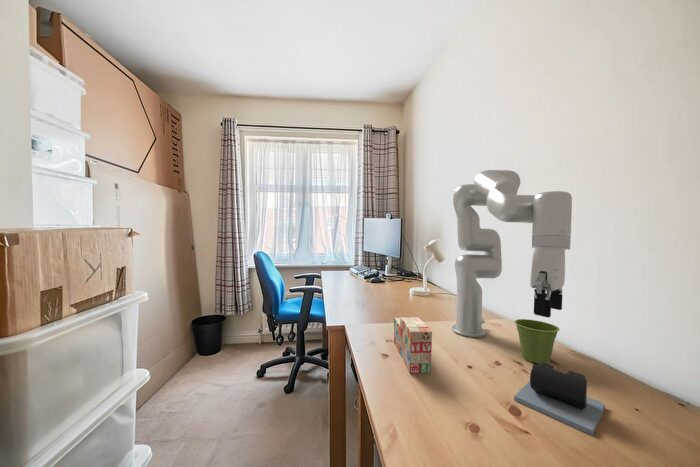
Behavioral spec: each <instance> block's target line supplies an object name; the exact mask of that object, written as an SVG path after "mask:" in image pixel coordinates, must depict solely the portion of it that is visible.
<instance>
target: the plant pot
mask: <svg viewBox="0 0 700 467" xmlns="http://www.w3.org/2000/svg"><path fill="white" fill-rule="evenodd" d="M513 322H514V324H515V325H516V329H517V333H518V338H519V339H518V340H519V344H520V350H521V356H522V358H523V359H524V360H525V361H528V362H529V363H534V364H537V365H538V364H539V363H540V362H542V363H546V364H549V365H550V362H551V358H552V353H553V349H554V344H555V341H556V338H557V334H558V332H559V331H560V327H558V326H557V325H555V324H553V323H552V324H551V323H549V322H545V321H541V320H535V319H528V318H527V319H525V318H521V319H520V318H519V319H515V320H514V321H513Z"/></svg>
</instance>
